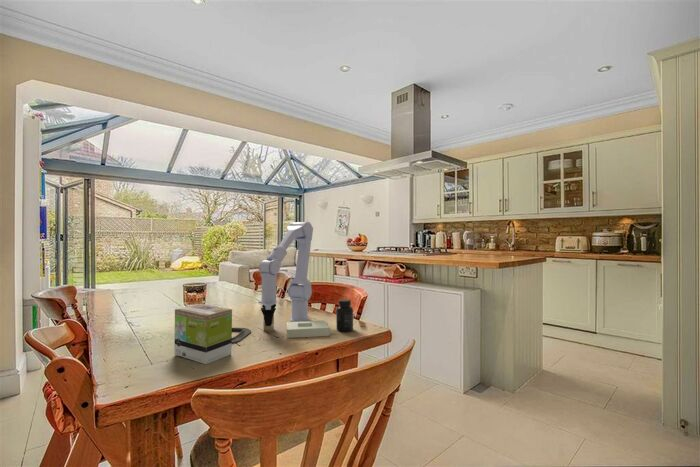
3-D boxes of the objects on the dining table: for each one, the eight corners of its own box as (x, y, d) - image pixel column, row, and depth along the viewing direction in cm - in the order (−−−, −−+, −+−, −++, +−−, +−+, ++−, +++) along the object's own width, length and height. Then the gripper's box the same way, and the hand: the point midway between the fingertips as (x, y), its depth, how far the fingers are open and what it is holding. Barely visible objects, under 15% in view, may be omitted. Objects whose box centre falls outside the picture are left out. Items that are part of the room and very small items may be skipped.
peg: (263, 328, 133) (263, 309, 133) (273, 328, 134) (274, 308, 134) (262, 331, 129) (263, 311, 129) (273, 331, 130) (273, 311, 130)
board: (286, 329, 133) (286, 322, 133) (325, 327, 136) (326, 320, 136) (286, 337, 122) (286, 329, 122) (329, 335, 125) (329, 327, 125)
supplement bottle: (353, 328, 136) (354, 298, 136) (352, 332, 129) (352, 302, 129) (337, 327, 137) (337, 298, 137) (335, 332, 130) (335, 301, 130)
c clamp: (229, 349, 110) (229, 341, 110) (183, 346, 113) (183, 338, 113) (256, 332, 130) (257, 325, 130) (216, 329, 133) (217, 323, 133)
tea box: (172, 356, 102) (173, 308, 103) (200, 346, 111) (201, 302, 111) (205, 365, 95) (206, 314, 96) (232, 354, 104) (233, 307, 104)
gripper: (259, 287, 138) (259, 319, 138) (257, 293, 124) (256, 329, 124) (277, 287, 139) (276, 319, 139) (276, 292, 125) (276, 328, 125)
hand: (268, 324), depth 132 cm, fingers open, 5 cm apart
